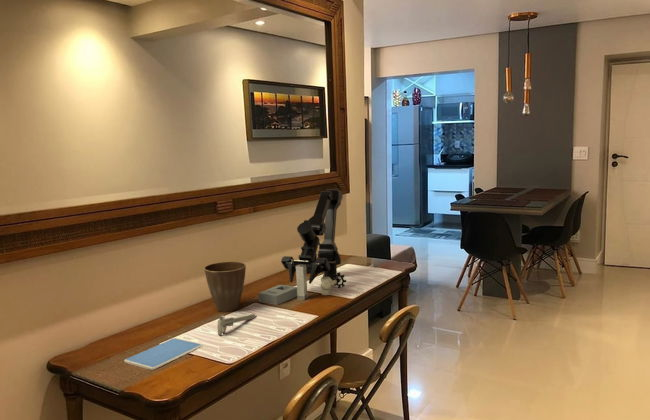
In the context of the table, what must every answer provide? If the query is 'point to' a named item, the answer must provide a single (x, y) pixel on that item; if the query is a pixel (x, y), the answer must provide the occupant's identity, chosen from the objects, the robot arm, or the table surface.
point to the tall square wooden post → (301, 282)
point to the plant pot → (226, 284)
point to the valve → (331, 283)
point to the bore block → (277, 294)
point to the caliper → (230, 322)
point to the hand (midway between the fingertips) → (300, 282)
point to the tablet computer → (162, 354)
